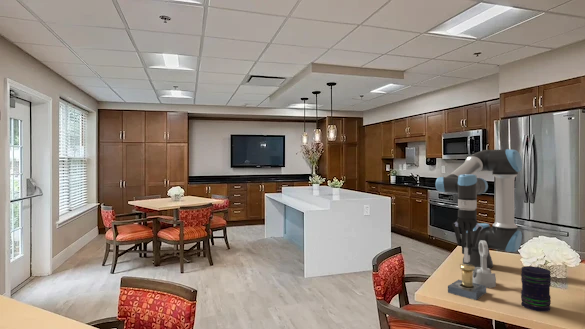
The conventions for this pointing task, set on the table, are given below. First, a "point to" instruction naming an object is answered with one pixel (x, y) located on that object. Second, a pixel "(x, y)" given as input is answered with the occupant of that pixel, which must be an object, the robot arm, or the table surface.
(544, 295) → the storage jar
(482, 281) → the engine component
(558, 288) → the table surface
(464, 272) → the brass flared knob
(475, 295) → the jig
